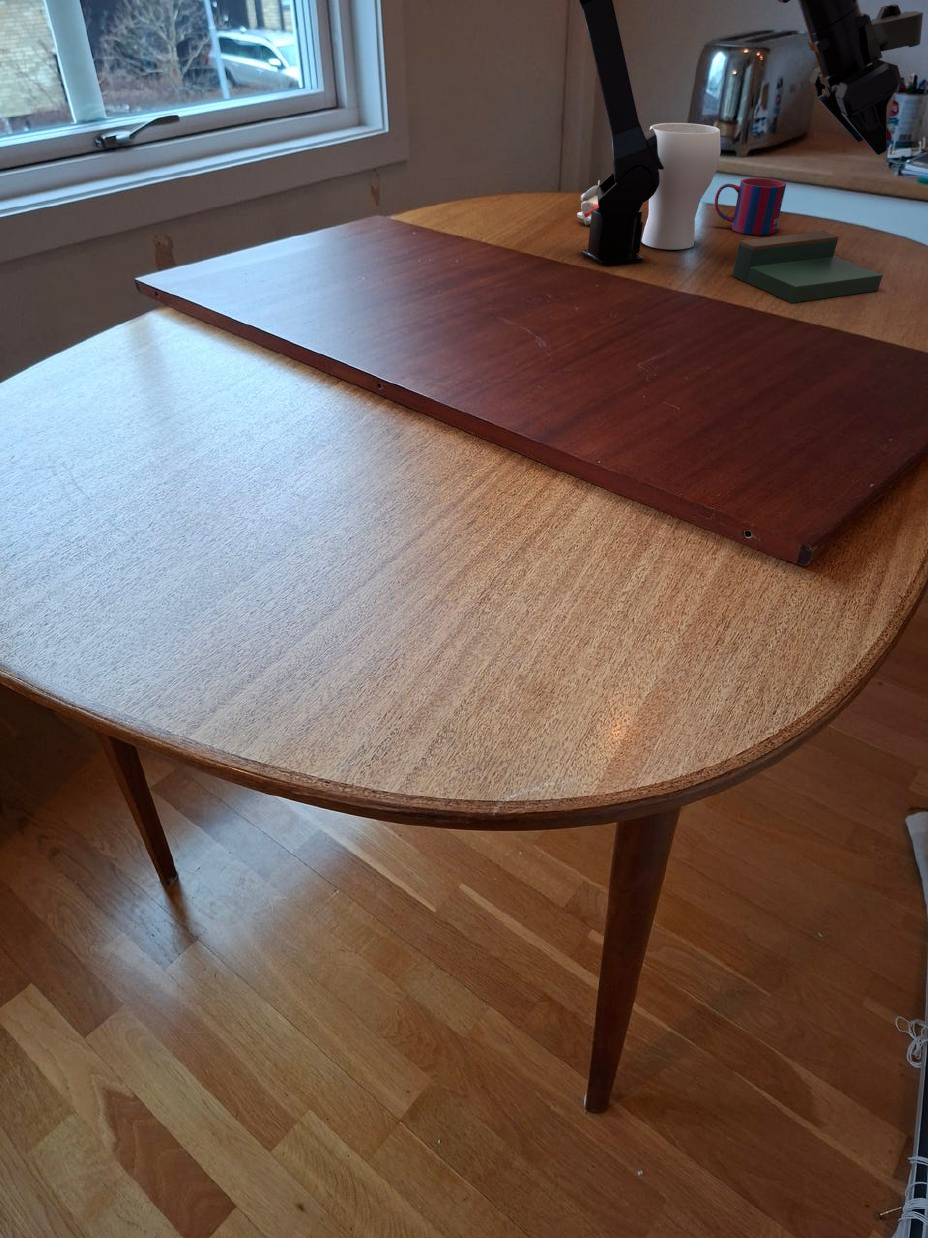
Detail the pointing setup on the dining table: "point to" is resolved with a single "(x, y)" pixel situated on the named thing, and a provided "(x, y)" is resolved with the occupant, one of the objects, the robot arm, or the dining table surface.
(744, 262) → the green l-shaped stand
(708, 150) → the cup
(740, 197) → the cup
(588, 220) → the toy airplane
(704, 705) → the dining table surface
